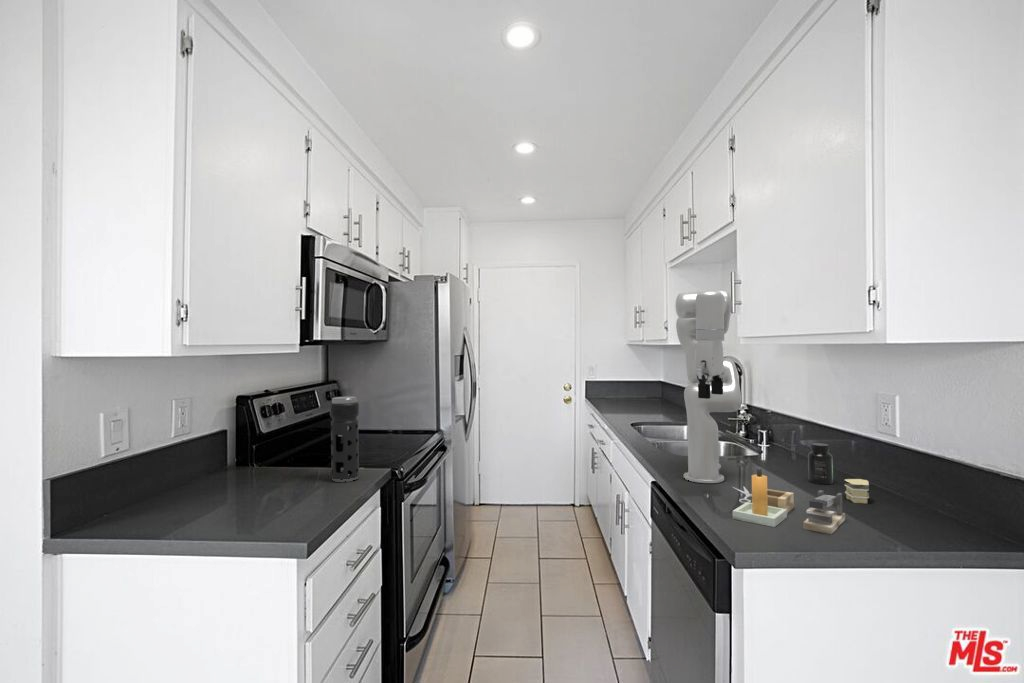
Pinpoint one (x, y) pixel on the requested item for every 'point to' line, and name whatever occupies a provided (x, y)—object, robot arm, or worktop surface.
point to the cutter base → (825, 527)
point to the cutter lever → (822, 501)
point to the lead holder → (780, 499)
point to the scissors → (745, 494)
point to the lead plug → (759, 493)
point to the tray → (772, 519)
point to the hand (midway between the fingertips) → (710, 396)
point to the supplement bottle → (820, 464)
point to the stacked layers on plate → (857, 490)
